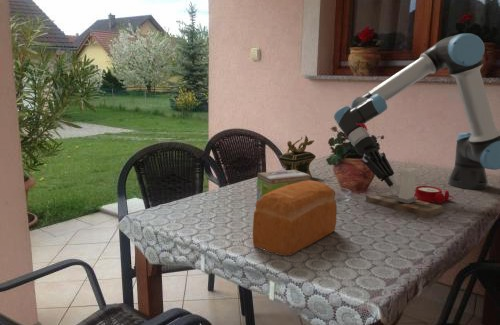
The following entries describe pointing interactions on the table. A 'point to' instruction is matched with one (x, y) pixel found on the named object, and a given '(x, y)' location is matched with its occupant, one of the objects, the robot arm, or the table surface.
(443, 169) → the table surface
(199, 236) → the table surface
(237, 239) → the table surface
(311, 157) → the decorative box
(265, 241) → the bread
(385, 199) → the board
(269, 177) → the tea box
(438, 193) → the alarm clock
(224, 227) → the table surface
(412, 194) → the fader tab
